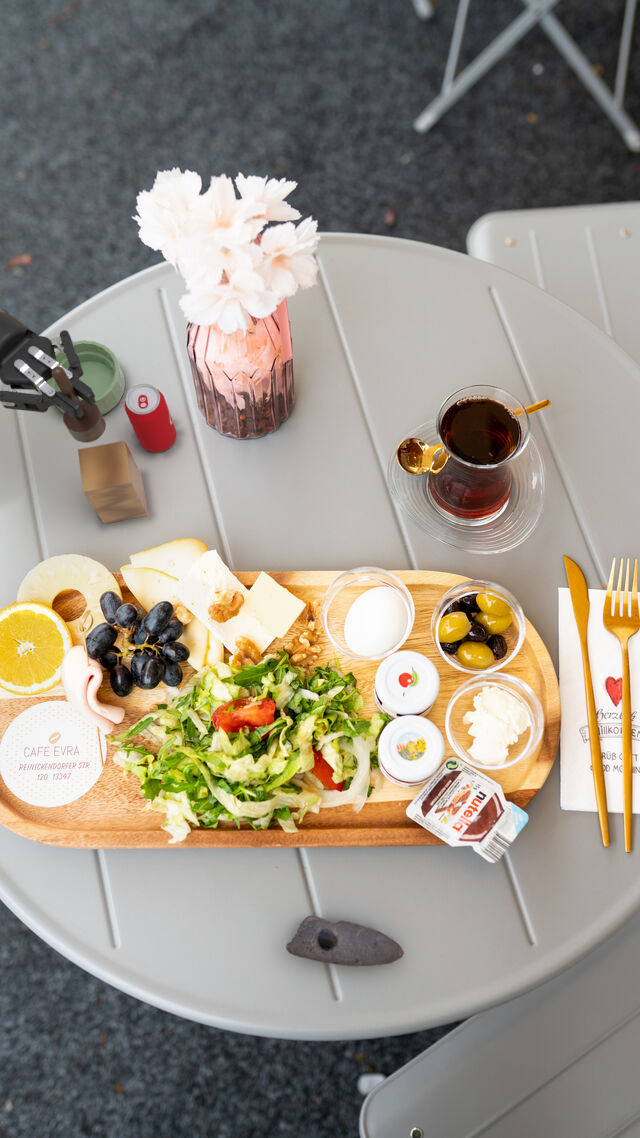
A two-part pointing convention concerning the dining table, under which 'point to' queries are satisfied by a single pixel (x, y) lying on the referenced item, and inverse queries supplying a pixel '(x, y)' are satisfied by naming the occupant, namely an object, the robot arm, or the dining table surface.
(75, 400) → the brown handled round part
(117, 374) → the bowl
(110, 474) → the wooden square block
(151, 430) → the beverage can
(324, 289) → the dining table surface
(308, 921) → the perforated stone tool
